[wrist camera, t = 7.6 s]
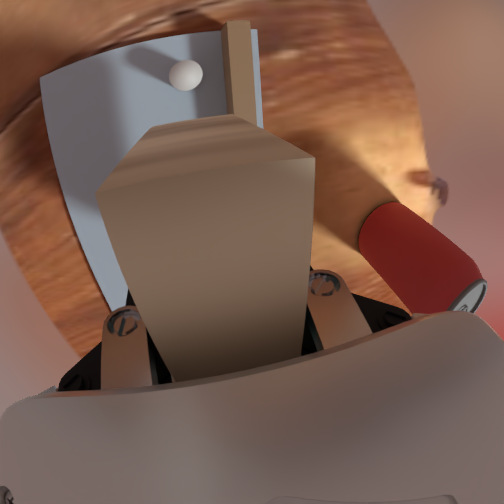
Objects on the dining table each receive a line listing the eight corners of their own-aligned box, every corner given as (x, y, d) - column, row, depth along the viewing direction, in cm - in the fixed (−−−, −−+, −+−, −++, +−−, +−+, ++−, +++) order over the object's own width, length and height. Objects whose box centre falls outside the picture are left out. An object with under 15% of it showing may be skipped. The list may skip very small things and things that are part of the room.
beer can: (350, 263, 26) (421, 355, 16) (360, 202, 22) (457, 289, 13) (399, 251, 27) (469, 326, 17) (412, 196, 23) (502, 266, 14)
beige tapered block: (250, 309, 15) (290, 426, 9) (194, 320, 14) (213, 443, 9) (233, 113, 9) (318, 157, 4) (150, 127, 9) (91, 194, 3)
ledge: (268, 346, 30) (280, 377, 27) (149, 367, 28) (150, 400, 24) (252, 32, 13) (274, 16, 10) (46, 77, 11) (12, 78, 7)
